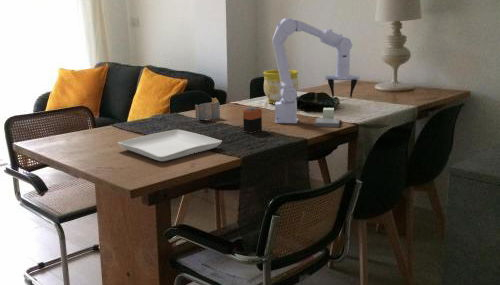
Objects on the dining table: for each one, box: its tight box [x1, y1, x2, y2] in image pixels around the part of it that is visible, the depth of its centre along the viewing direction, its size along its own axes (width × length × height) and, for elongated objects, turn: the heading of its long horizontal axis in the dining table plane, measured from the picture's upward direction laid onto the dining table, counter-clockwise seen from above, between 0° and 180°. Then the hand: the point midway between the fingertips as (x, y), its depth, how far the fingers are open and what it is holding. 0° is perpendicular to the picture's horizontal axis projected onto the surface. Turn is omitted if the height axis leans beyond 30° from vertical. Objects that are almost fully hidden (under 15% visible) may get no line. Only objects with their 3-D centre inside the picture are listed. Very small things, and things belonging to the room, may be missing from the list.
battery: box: [242, 106, 263, 132], centre depth 206 cm, size 4×7×10 cm, turn 136°
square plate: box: [117, 129, 223, 162], centre depth 182 cm, size 27×27×4 cm
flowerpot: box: [262, 69, 299, 105], centre depth 267 cm, size 18×18×16 cm
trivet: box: [314, 117, 341, 128], centre depth 217 cm, size 10×10×2 cm
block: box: [322, 107, 335, 118], centre depth 226 cm, size 4×4×5 cm
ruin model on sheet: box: [194, 97, 221, 121], centre depth 231 cm, size 11×3×10 cm, turn 126°
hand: (341, 96), depth 222 cm, fingers open, 7 cm apart
